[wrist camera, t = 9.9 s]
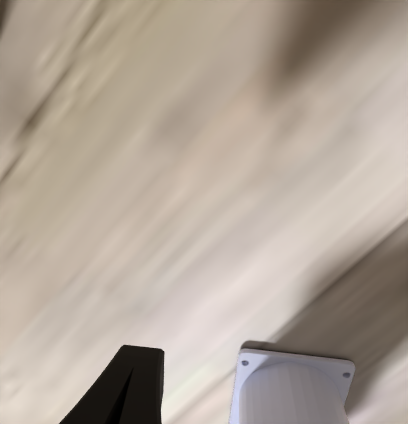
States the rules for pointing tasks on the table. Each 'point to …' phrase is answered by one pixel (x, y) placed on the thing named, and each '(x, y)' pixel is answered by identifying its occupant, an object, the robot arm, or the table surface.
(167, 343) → the table surface
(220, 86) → the table surface
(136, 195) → the table surface
